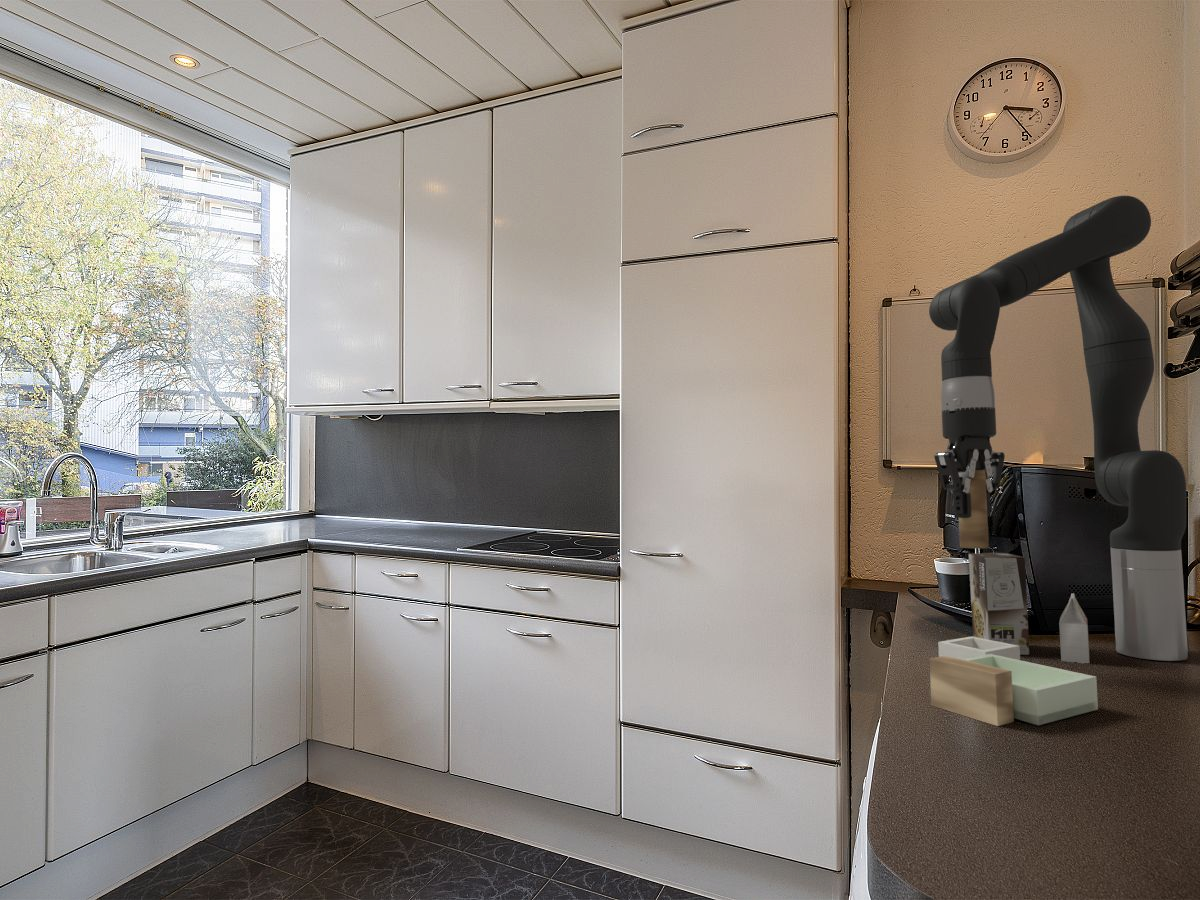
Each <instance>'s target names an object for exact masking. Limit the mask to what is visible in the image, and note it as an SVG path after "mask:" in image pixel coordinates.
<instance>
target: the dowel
mask: <svg viewBox="0 0 1200 900" xmlns="http://www.w3.org/2000/svg"><path fill="white" fill-rule="evenodd" d="M961 472H966V471H958V473H961ZM960 481H961V484H962V482H963V479H960ZM967 494H970V503H971V517H969V518H958V535H959V537H958V538H959V548H963V549H964V548H965V549H989V548H990V545H989V542H990V541H989V522H988V521H989V519H988V517H987V497H986V476H985V470H975V474H974V478H973V479H971V482H970V489H969V492H968V493H967Z"/></svg>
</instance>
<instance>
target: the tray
mask: <svg viewBox="0 0 1200 900" xmlns="http://www.w3.org/2000/svg"><path fill="white" fill-rule="evenodd" d="M962 660H967V661H971V662H975V663H979V664H984V665H988V666H992V667H997V668H1001V669H1005V670H1010V671H1011V672H1012V693H1013V713H1014V720H1015V719H1016V720H1019V721H1022V722H1026V723H1028V724H1032V725H1036V726H1042V725H1044V724H1049V723H1053V722H1056V721H1060V720H1063V719H1068V718H1071V717H1074V716H1078V715H1082V714H1086V713H1090V712H1093V711H1097V710H1099V703H1098V684H1097V682H1098V681H1097V676H1095V675H1090V674H1086V673H1080V672H1076V671H1071V670H1068V669H1064V668H1059V667H1055V666H1054V667H1053V666H1047V665H1044V664H1038V663H1034V662H1030V661H1026V660H1021V659H1020V660H1017V659H1012V658H1007V657H1003V656H998V655H993V654H988V655H982V656H977V657H971V658H966V659H962Z"/></svg>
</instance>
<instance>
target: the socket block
mask: <svg viewBox="0 0 1200 900" xmlns="http://www.w3.org/2000/svg"><path fill="white" fill-rule="evenodd" d="M937 644H938V645H937V646H938V657H940V656H949V657H954V658H958V659H966V658H971V657H977V656H982V655H988V654H993V655H998V656H1003V657H1007V658H1012V659H1017V660H1021V655H1020V646H1018V645H1013V644H1008V643H1003V642H998V641H992V640H987V639H982V638H977V637H973V635H972V636H966V637H960V638H954V639H953V638H952V639H946V640H942V641H938V642H937Z"/></svg>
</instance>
